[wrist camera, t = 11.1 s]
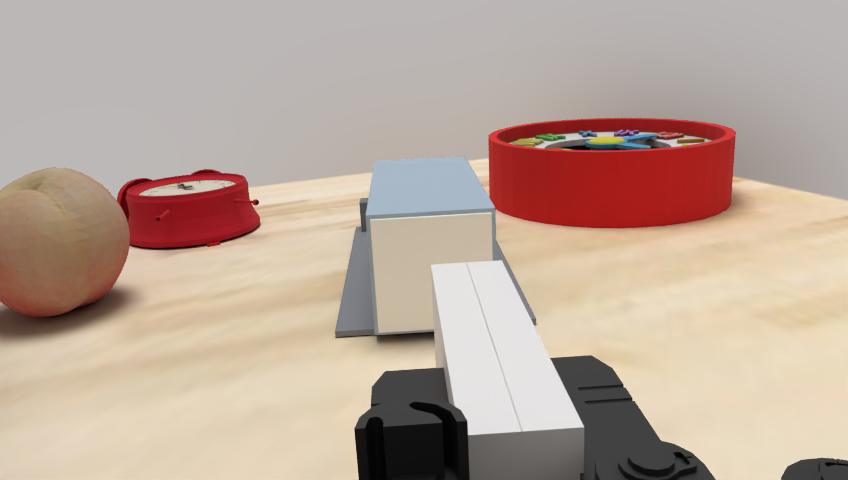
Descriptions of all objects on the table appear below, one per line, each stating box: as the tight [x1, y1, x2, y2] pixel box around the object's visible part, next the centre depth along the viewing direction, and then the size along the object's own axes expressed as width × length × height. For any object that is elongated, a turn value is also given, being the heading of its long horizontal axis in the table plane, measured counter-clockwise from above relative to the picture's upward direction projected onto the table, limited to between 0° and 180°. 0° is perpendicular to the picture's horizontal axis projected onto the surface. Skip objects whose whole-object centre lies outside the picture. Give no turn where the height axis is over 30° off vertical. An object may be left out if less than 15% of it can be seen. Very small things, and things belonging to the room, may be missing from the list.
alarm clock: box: [117, 169, 260, 248], centre depth 57 cm, size 10×6×15 cm
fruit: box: [0, 168, 130, 317], centre depth 40 cm, size 8×8×8 cm
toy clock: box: [489, 118, 736, 228], centre depth 60 cm, size 20×6×20 cm
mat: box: [335, 198, 536, 337], centre depth 44 cm, size 20×10×2 cm, turn 2°
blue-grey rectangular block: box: [366, 156, 496, 335], centre depth 40 cm, size 6×6×15 cm
